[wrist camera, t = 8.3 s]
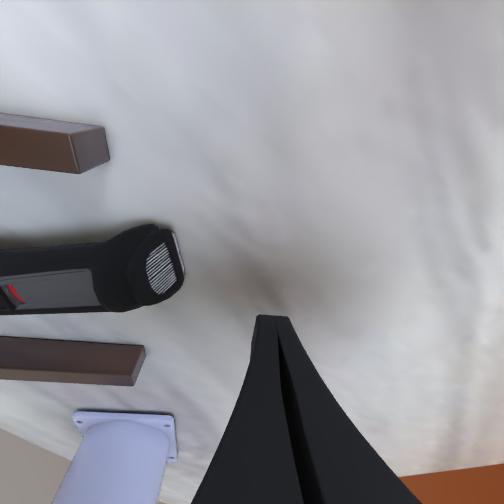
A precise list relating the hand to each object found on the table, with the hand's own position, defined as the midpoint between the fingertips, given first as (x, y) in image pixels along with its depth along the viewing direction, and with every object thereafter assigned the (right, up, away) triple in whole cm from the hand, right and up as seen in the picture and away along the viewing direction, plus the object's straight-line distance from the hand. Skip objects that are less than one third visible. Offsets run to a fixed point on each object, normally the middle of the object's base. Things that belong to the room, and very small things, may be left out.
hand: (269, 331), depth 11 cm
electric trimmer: (-12, +3, +1) cm, 12 cm away
